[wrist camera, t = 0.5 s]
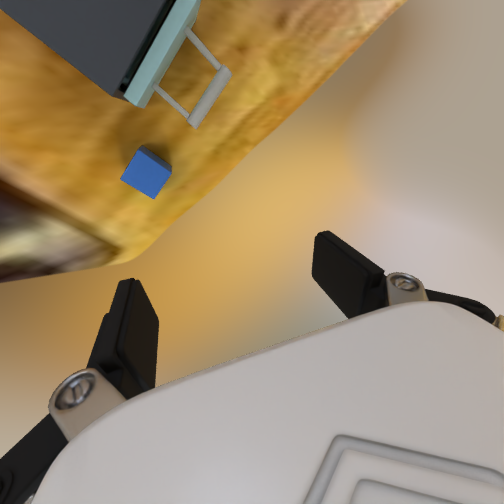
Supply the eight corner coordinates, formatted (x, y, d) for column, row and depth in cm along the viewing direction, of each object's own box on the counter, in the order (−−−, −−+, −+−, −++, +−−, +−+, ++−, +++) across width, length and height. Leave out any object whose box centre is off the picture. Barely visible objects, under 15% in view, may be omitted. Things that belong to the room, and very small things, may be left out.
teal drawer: (234, 65, 28) (252, 50, 21) (184, 141, 30) (187, 148, 24) (51, -156, 17) (-17, -312, 11) (-1, -10, 20) (-81, -69, 14)
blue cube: (142, 144, 30) (138, 149, 26) (171, 166, 32) (171, 172, 29) (125, 171, 31) (119, 179, 27) (155, 190, 33) (153, 199, 30)
